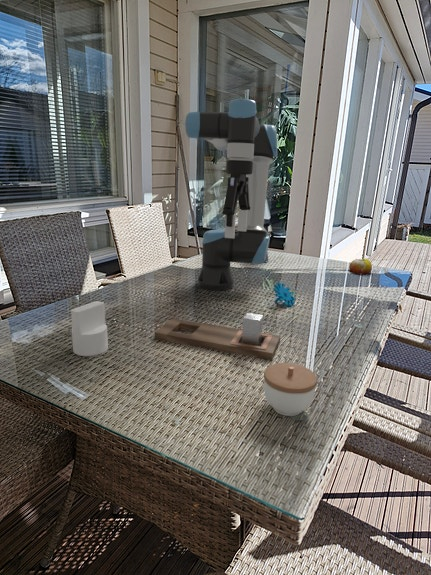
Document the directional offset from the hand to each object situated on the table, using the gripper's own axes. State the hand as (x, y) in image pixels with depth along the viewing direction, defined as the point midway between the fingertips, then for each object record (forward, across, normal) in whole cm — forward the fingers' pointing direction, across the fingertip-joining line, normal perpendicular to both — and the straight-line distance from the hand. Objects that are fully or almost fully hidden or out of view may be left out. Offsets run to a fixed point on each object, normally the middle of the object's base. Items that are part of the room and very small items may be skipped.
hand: (235, 234), depth 119 cm
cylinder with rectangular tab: (+29, +32, -30) cm, 53 cm away
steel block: (+29, +14, +10) cm, 33 cm away
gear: (+29, -27, +13) cm, 41 cm away
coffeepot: (+29, -91, -10) cm, 96 cm away
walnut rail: (+29, +14, 0) cm, 32 cm away
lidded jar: (+29, +40, +24) cm, 55 cm away
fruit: (+29, -91, +40) cm, 104 cm away
